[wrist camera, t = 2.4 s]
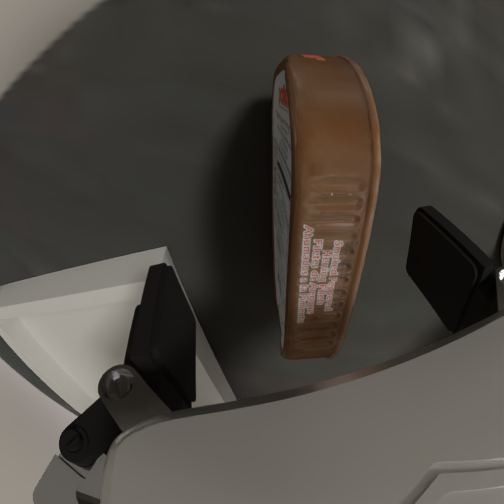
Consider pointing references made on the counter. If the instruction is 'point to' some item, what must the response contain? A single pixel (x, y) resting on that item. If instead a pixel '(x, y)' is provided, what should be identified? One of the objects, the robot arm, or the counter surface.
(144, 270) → the white tray
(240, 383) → the counter surface
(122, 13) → the counter surface
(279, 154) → the tin
